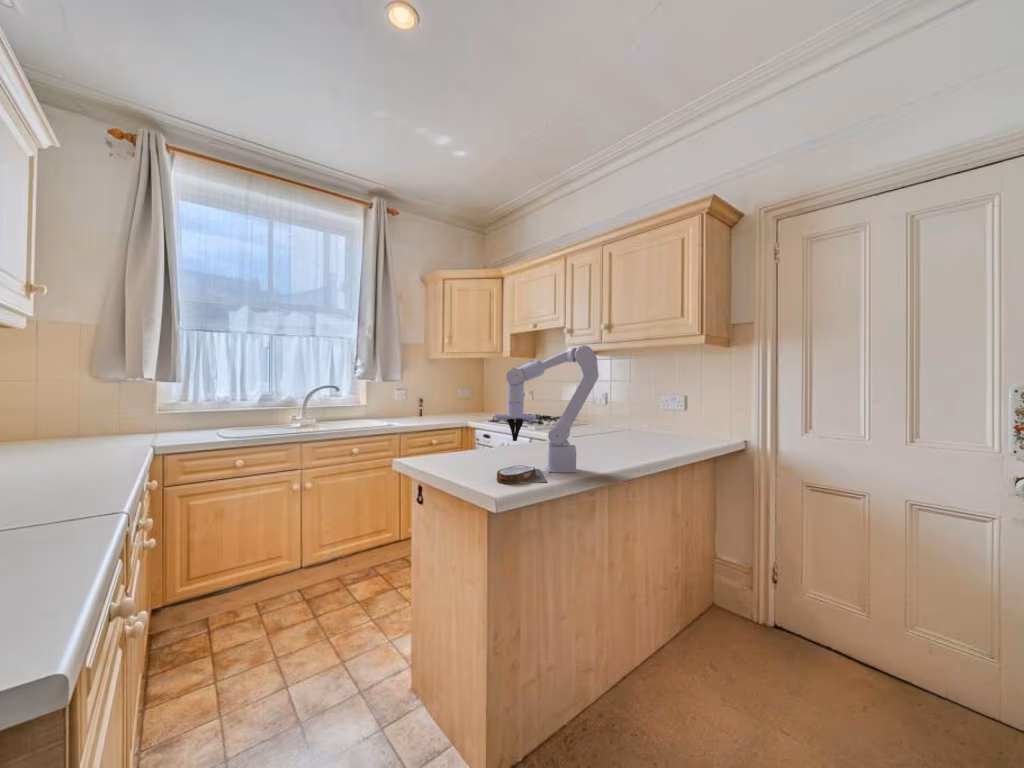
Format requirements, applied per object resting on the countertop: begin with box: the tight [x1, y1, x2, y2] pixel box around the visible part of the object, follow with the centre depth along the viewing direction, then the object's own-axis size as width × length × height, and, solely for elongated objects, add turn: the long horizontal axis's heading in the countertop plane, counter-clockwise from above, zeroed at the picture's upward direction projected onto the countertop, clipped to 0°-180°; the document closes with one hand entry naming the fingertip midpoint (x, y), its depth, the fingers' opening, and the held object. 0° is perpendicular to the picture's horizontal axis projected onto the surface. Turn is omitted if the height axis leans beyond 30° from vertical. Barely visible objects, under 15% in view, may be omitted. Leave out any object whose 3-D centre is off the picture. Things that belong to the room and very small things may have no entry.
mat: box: [523, 468, 548, 484], centre depth 134 cm, size 11×17×1 cm, turn 4°
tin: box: [496, 464, 536, 484], centre depth 130 cm, size 15×3×8 cm
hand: (514, 440), depth 147 cm, fingers closed
